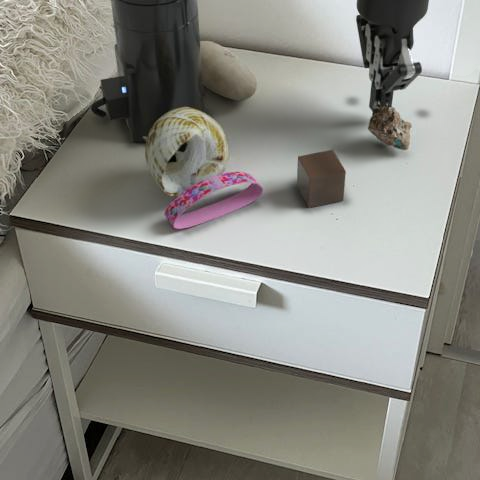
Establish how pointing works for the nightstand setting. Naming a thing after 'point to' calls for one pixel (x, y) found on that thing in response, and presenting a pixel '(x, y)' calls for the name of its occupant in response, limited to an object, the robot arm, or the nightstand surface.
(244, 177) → the headband
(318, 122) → the nightstand surface
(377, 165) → the nightstand surface
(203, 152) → the seashell
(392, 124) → the rock
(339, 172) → the brown cube block
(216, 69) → the stone
